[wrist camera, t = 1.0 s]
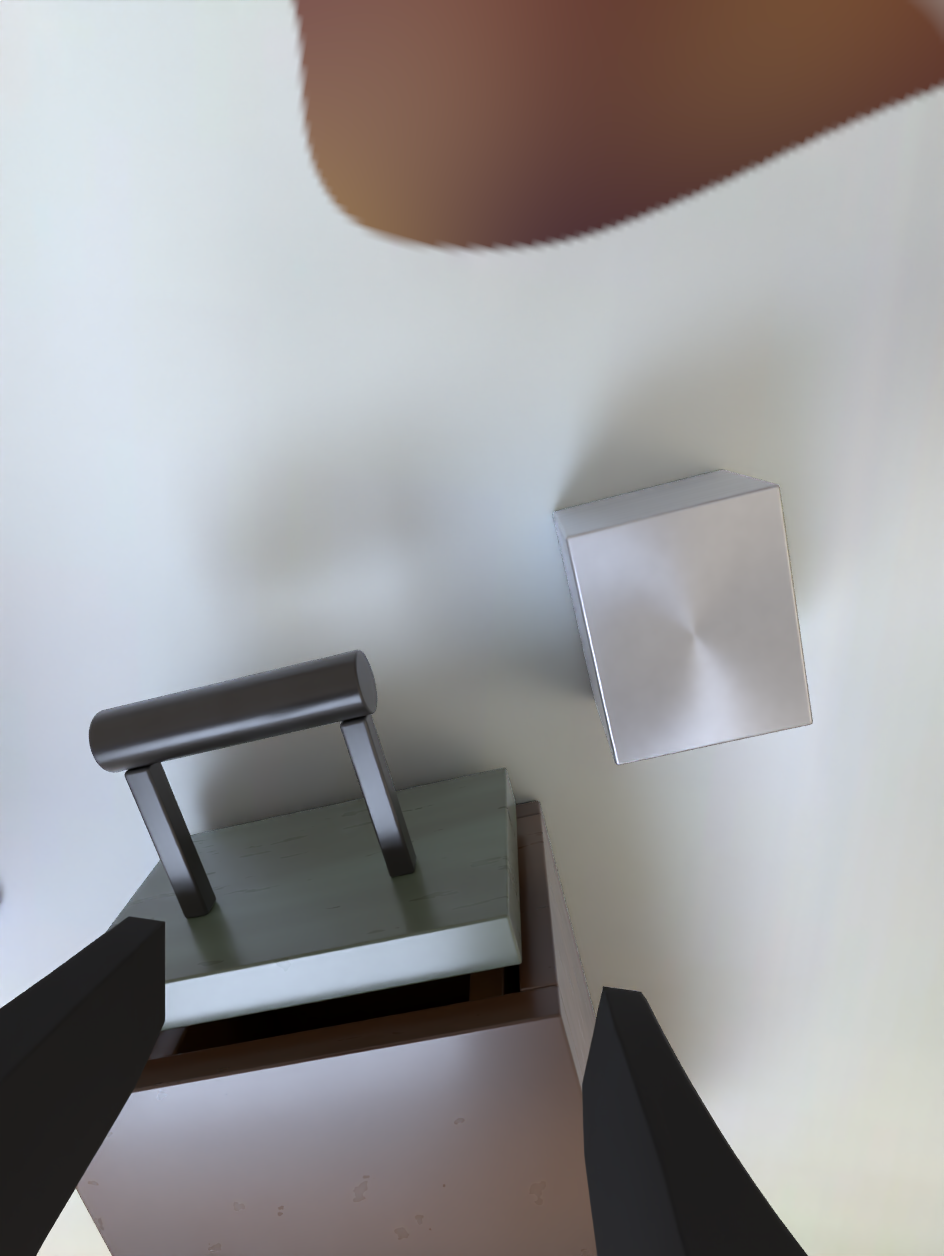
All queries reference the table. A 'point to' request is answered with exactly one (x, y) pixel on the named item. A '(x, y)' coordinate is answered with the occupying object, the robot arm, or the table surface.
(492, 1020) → the cabinet
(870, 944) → the table surface
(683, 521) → the shiny metal block
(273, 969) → the drawer
